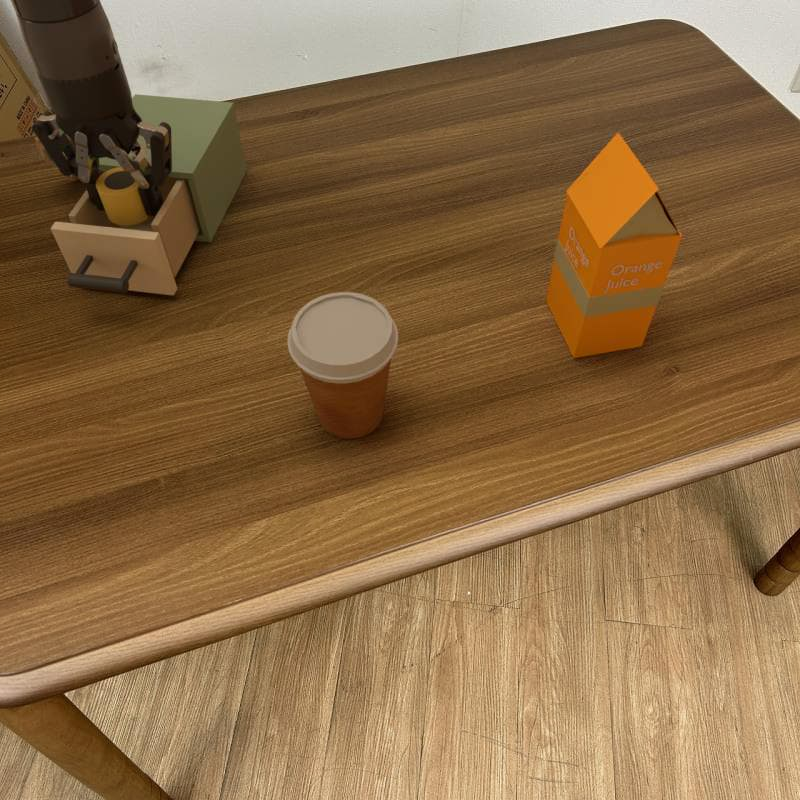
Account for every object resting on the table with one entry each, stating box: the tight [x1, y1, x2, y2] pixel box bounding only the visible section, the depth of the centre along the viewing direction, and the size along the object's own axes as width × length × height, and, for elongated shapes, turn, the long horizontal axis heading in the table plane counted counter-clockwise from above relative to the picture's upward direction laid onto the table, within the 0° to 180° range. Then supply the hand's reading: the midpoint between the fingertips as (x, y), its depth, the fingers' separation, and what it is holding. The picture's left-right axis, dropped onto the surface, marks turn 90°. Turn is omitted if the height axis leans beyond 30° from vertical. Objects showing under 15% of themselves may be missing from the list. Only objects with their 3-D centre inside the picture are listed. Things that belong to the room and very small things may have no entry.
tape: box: [96, 167, 150, 226], centre depth 80 cm, size 5×5×4 cm
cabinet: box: [98, 93, 248, 243], centre depth 90 cm, size 15×13×10 cm
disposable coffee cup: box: [286, 291, 399, 440], centre depth 68 cm, size 10×10×12 cm
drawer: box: [50, 170, 201, 296], centre depth 82 cm, size 18×11×8 cm, turn 170°
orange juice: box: [545, 132, 683, 359], centre depth 72 cm, size 8×9×20 cm
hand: (130, 208), depth 81 cm, fingers closed on tape, 5 cm apart
